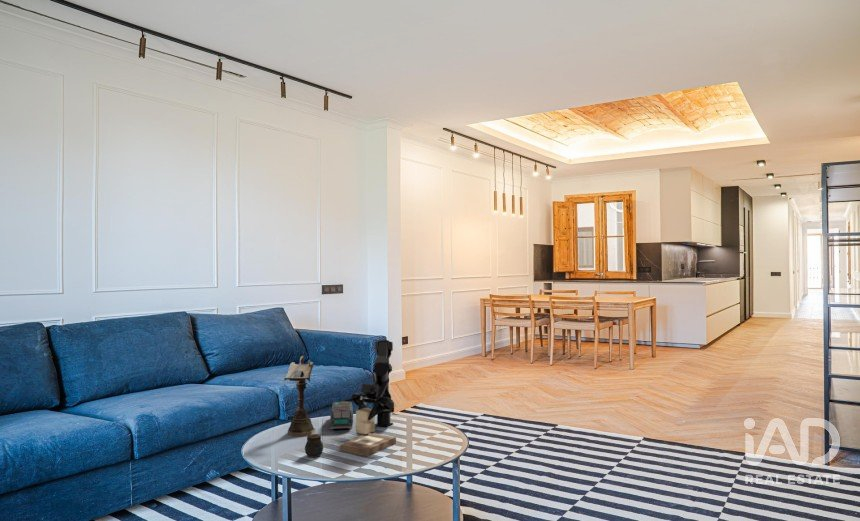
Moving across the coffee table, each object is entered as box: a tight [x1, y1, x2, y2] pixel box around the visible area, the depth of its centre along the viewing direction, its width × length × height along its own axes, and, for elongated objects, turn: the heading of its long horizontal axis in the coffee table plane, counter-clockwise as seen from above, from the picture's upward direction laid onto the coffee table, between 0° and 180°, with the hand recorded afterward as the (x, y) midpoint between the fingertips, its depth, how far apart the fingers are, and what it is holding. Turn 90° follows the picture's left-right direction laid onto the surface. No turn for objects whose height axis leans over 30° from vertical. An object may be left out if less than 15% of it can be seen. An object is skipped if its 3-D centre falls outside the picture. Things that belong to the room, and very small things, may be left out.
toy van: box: [329, 400, 354, 430], centre depth 279 cm, size 11×25×10 cm, turn 7°
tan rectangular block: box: [355, 407, 376, 436], centre depth 244 cm, size 6×5×10 cm
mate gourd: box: [304, 430, 324, 458], centre depth 233 cm, size 7×8×10 cm
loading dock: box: [339, 432, 397, 457], centre depth 244 cm, size 20×14×3 cm
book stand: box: [282, 355, 316, 437], centre depth 263 cm, size 17×13×35 cm
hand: (363, 418), depth 243 cm, fingers closed on tan rectangular block, 5 cm apart
